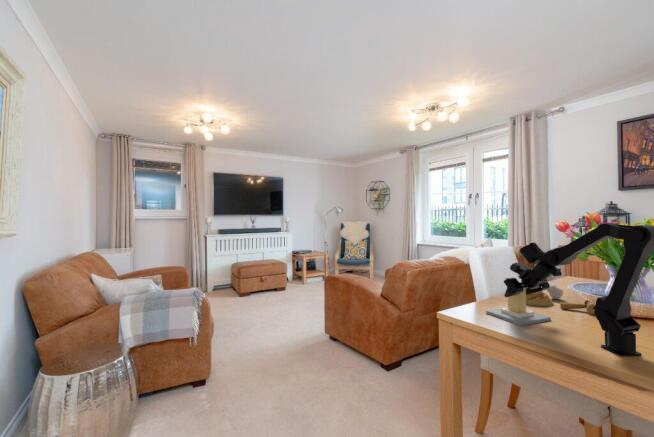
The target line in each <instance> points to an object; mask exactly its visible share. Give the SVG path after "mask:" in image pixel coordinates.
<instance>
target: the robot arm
mask: <svg viewBox="0 0 654 437" xmlns="http://www.w3.org/2000/svg"><path fill="white" fill-rule="evenodd" d="M609 238H614V239H617V240H622V241H623V242H622V244H623V248H624V255H623V257H622V260H621V263H620V265H619V267H618V269H617V272H616V275H615V278H614V280H613V282H612V284H611V285H612V286H611V288H610V290H609V293H608V295H604V296H599V297H597V298H596V300H595V301H596V305H595V307H593V309H595V311H594V314H593V315H594V316H595V318H596V320H597V321H598V323H599V326H600V327H601V330H602V331H604V344H601V345H600V347H601V348H604V349H605V350H608V351H610V352H611V353H613V354H616V355H619V356H622V357H623V356H628V357H629V356H630V357H631V356H642V353H641V352H639V351H637V334H635V332H639V330H640V329H641V326H642V325H641V324H640V323H638V322H637V320H636V319H635V318H634V317H632V315H631V312H632V305H631V300H630V299H631V297H632V295H633V292H634V290H635V287H636V286H637V284H638V280H639V278H640V276H641V274H642V270H643V268H644V266H645V264H646V262H647V259H648V257H649V256H650V255H651V254H653V253H654V224H646V225H645V224H643V225H629V224H619V223H615V222H603V223H600V224H599V225H598V226H597V227H595V228H593V229H591V230H590V231H588V232H586V233H584V234H582V235H581V236H580V237H578V238H576V239H574V240H572V241H571V242H569V243H567V244H565V245H562V246H558V247H555V248H552V249H550V250H547V251H545V252H544V251H543V250H542V249H541V248H540V247H539V245H538V244H537V243H536V242H530V243H529V244H527V245H524V246H522V247H520V249H519V250H518V253H520V255H521V256H522V258H524V259H525V261H526V262H527V263H528V264H529V265H530V264H532V265H534V266H533V267H532V268H531V267H529V265H526V264H525V263H524V262H514V263H512V264H511V265H510V266H509V269H510V270H511V272H512V273H515V274H517V275H518V278H519V279H520V280H521V281H519V280H518V279H517V278H516V277H506V278H505V279H504V280H503V284H504V285H505V286H506V290H505V292H504V297H505V298H508V297H510V296H514V295H518V294H520V293H522V292H523V288H526V294H530V293H535V292H540V291H542V292H544V291H547V289H548V288H549V287H550V285H551V284H550V283H549V281H548V278H550V277H551V276H553V277H561V276H562V275H563V273H562V268H559V267H560V266H568V265H570V264H571V263H572V262H574V260H576V259H577V257H578V256H579V255H580V254H581V253H583V252H586V251H587V250H589V249H590V248H592V247H594V246H597V245H598V244H600V243H601V242H604V241H605V240H607V239H609Z"/></svg>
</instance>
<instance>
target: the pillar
mask: <svg viewBox="0 0 654 437" xmlns="http://www.w3.org/2000/svg"><path fill="white" fill-rule="evenodd" d="M507 307H508V310H509V311H512V312H515V313H524V312H526V310H527V304H526V288H523V292H522V293H520V294H518V295H514V296H510V297H507Z"/></svg>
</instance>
